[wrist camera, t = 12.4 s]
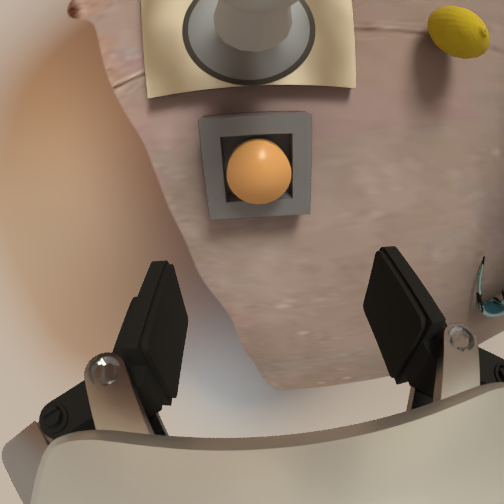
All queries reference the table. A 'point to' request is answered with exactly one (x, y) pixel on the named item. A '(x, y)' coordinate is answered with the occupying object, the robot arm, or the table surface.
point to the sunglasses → (491, 306)
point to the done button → (258, 171)
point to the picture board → (245, 62)
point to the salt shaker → (253, 23)
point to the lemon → (458, 32)
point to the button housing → (246, 127)
